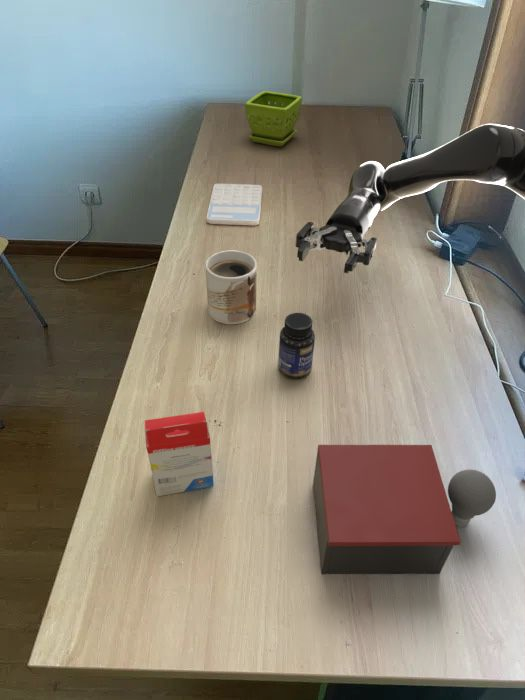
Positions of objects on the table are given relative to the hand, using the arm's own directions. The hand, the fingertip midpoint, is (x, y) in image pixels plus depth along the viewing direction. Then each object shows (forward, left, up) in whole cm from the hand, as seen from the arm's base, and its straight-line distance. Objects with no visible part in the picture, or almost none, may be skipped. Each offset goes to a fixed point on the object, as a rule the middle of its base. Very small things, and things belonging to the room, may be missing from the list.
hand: (323, 262), depth 99 cm
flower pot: (+6, -96, -16) cm, 97 cm away
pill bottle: (+5, +10, -16) cm, 20 cm away
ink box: (+23, +34, -16) cm, 44 cm away
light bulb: (-17, +41, -16) cm, 47 cm away
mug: (+16, -8, -16) cm, 24 cm away
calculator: (+17, -51, -16) cm, 56 cm away
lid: (-4, +43, -7) cm, 43 cm away
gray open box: (-4, +42, -16) cm, 45 cm away
